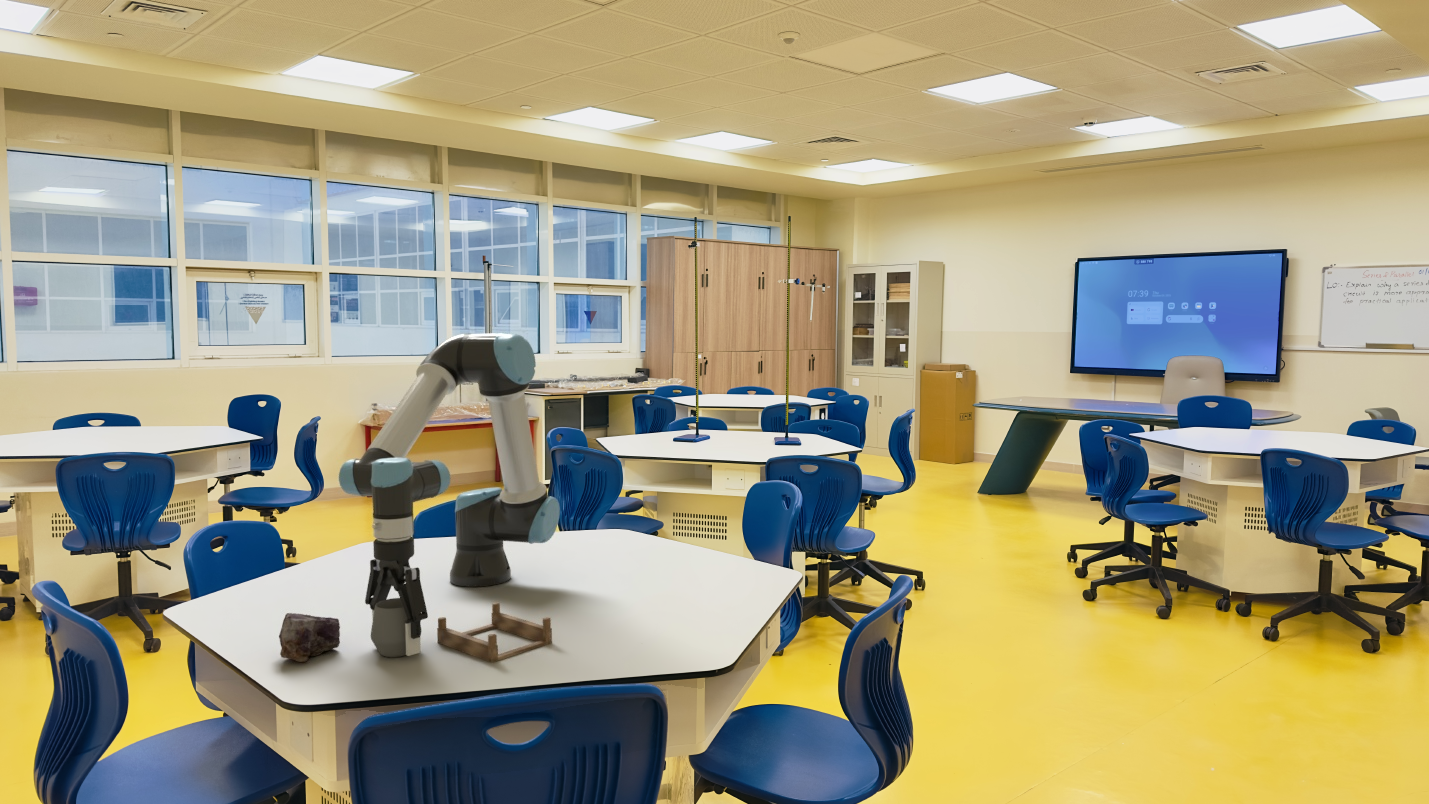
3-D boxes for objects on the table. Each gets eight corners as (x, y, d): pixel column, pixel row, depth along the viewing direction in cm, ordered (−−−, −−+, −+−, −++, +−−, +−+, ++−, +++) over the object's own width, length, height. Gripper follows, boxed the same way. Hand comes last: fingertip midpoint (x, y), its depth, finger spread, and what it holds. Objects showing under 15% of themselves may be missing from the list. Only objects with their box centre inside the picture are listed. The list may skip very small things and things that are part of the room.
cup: (431, 647, 186) (430, 598, 185) (401, 663, 177) (400, 612, 176) (392, 642, 189) (391, 594, 188) (360, 658, 180) (359, 607, 179)
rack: (436, 642, 189) (436, 618, 189) (497, 624, 201) (496, 602, 200) (491, 662, 177) (491, 637, 177) (552, 642, 189) (552, 618, 189)
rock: (344, 658, 184) (313, 647, 189) (349, 615, 184) (318, 605, 189) (290, 667, 174) (259, 655, 179) (296, 621, 174) (264, 611, 180)
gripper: (344, 532, 186) (347, 639, 188) (410, 549, 171) (413, 665, 173) (378, 526, 192) (381, 630, 193) (445, 542, 177) (447, 655, 178)
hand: (396, 647), depth 183 cm, fingers open, 11 cm apart
